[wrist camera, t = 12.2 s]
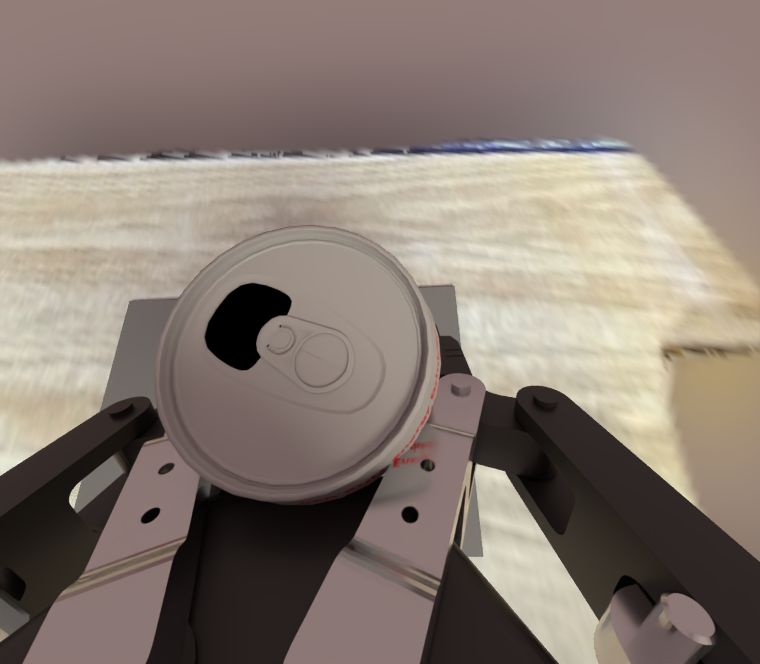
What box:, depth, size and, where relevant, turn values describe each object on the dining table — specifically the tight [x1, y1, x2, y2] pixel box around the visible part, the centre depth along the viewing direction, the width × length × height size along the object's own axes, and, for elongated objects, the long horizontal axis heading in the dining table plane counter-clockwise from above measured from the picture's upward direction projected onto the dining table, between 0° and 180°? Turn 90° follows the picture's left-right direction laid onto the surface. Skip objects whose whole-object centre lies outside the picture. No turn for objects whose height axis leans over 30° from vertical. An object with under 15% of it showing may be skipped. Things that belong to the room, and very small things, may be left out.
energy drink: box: [154, 225, 441, 505], centre depth 11 cm, size 5×5×12 cm
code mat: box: [74, 286, 483, 557], centre depth 19 cm, size 24×16×1 cm, turn 91°
